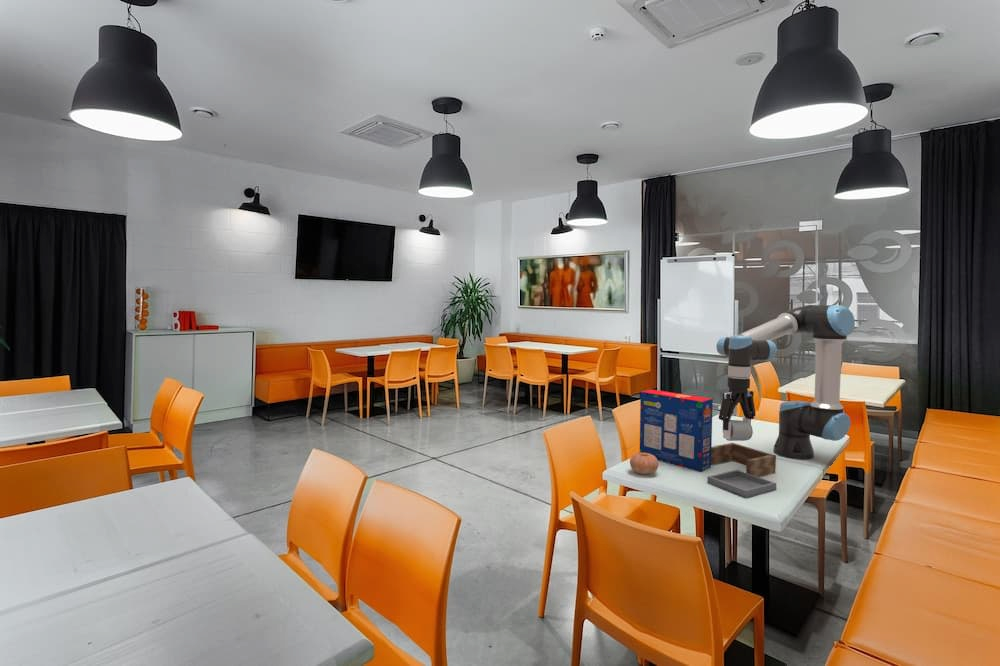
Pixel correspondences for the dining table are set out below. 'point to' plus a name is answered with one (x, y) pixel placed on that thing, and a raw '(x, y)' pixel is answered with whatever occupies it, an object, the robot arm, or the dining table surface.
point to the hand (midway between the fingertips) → (736, 437)
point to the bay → (745, 458)
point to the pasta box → (676, 428)
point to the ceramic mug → (740, 430)
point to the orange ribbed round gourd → (644, 463)
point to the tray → (741, 483)
